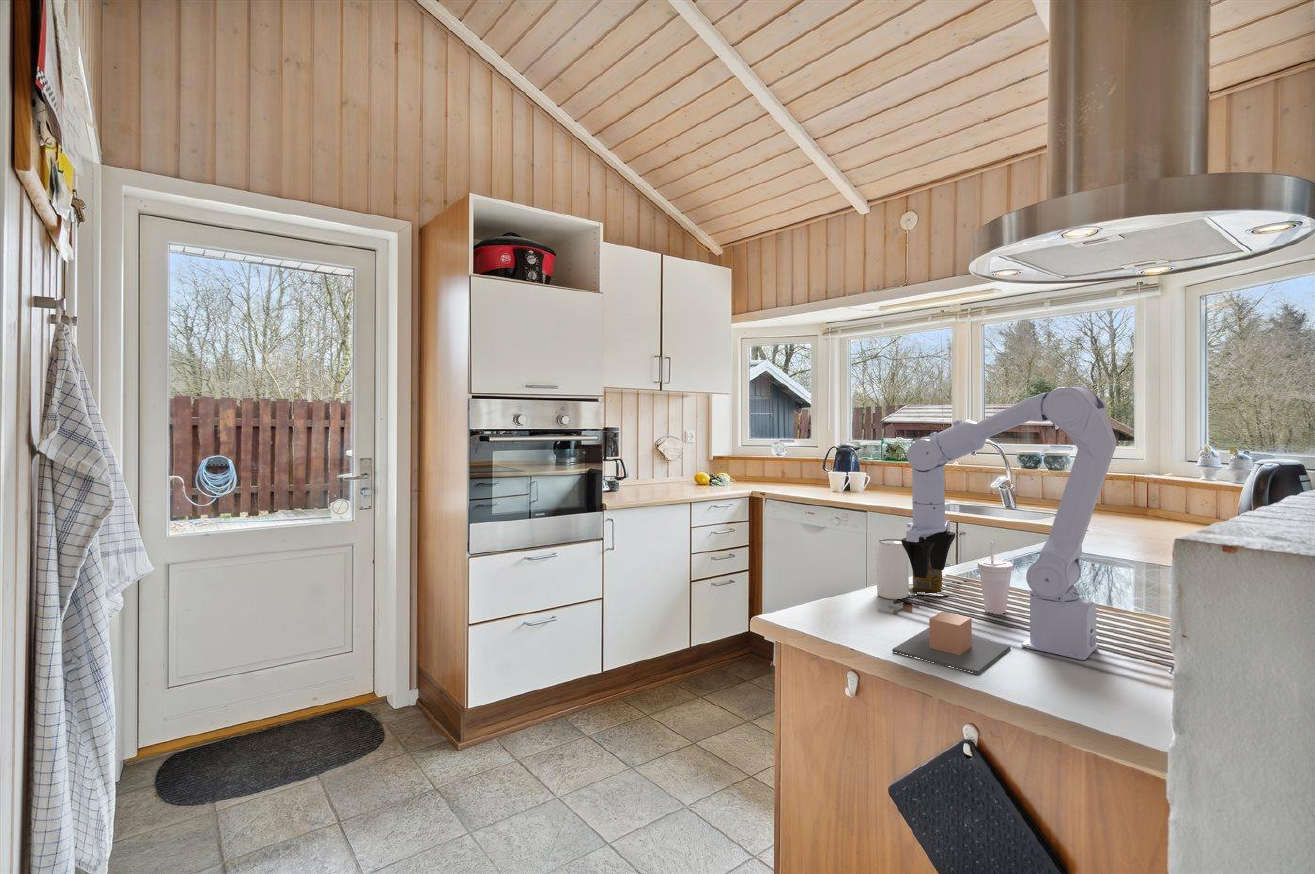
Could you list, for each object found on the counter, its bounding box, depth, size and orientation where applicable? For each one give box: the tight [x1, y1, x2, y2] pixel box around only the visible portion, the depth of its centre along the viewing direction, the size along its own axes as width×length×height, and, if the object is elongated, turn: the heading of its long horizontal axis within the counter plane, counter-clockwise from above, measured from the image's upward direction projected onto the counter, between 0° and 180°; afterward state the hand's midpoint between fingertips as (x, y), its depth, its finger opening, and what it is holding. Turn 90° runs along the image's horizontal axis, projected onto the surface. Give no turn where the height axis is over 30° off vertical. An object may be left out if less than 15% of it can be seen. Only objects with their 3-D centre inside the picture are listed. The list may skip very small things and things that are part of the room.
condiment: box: [909, 538, 945, 596], centre depth 148 cm, size 7×8×12 cm
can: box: [876, 538, 910, 601], centre depth 145 cm, size 6×6×12 cm
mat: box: [891, 627, 1011, 675], centre depth 114 cm, size 14×14×1 cm
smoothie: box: [977, 540, 1014, 615], centre depth 133 cm, size 6×6×14 cm
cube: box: [928, 611, 973, 655], centre depth 114 cm, size 5×5×5 cm
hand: (929, 573), depth 128 cm, fingers open, 7 cm apart
